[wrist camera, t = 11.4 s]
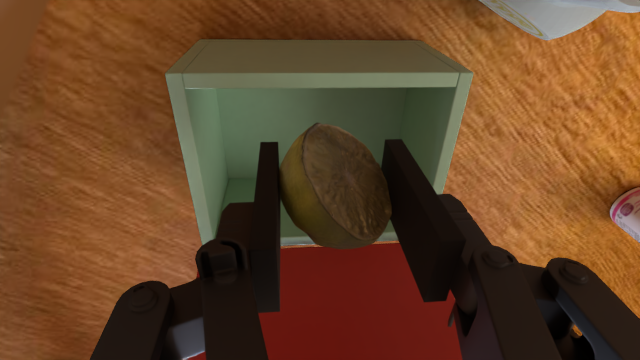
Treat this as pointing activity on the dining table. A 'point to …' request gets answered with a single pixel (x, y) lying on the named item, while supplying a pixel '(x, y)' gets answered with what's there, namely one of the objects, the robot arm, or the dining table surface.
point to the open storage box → (307, 110)
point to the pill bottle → (628, 212)
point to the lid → (354, 309)
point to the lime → (334, 188)
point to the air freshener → (556, 14)
